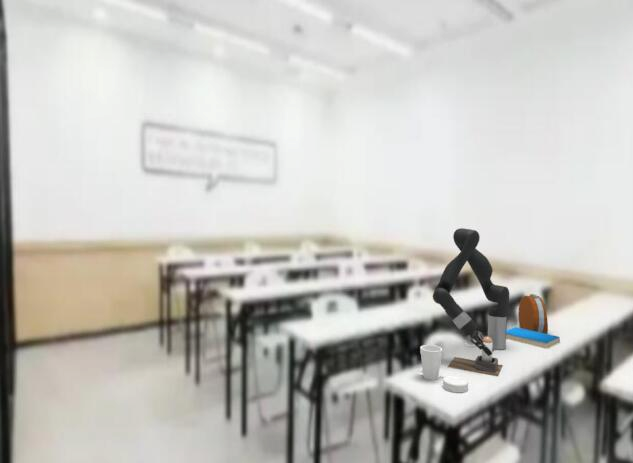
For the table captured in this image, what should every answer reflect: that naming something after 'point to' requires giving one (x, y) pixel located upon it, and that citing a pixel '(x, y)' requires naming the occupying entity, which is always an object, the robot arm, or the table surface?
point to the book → (532, 337)
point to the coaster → (455, 384)
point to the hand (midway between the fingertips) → (491, 353)
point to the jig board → (477, 365)
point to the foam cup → (431, 361)
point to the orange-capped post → (488, 343)
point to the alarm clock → (533, 314)
